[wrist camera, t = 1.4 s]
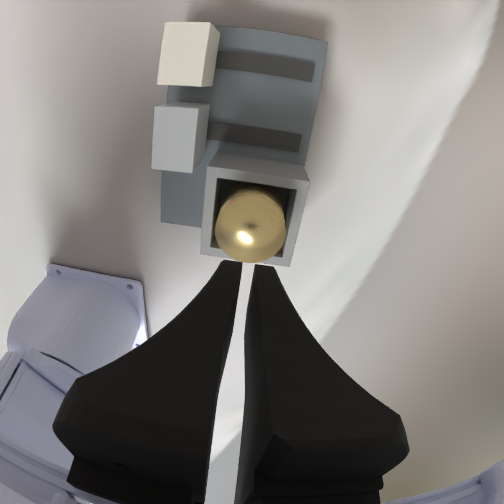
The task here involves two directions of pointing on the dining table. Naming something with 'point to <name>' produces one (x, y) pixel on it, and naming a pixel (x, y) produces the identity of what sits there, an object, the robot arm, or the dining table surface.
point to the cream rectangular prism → (188, 54)
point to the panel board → (250, 131)
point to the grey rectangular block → (179, 136)
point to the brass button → (251, 222)
